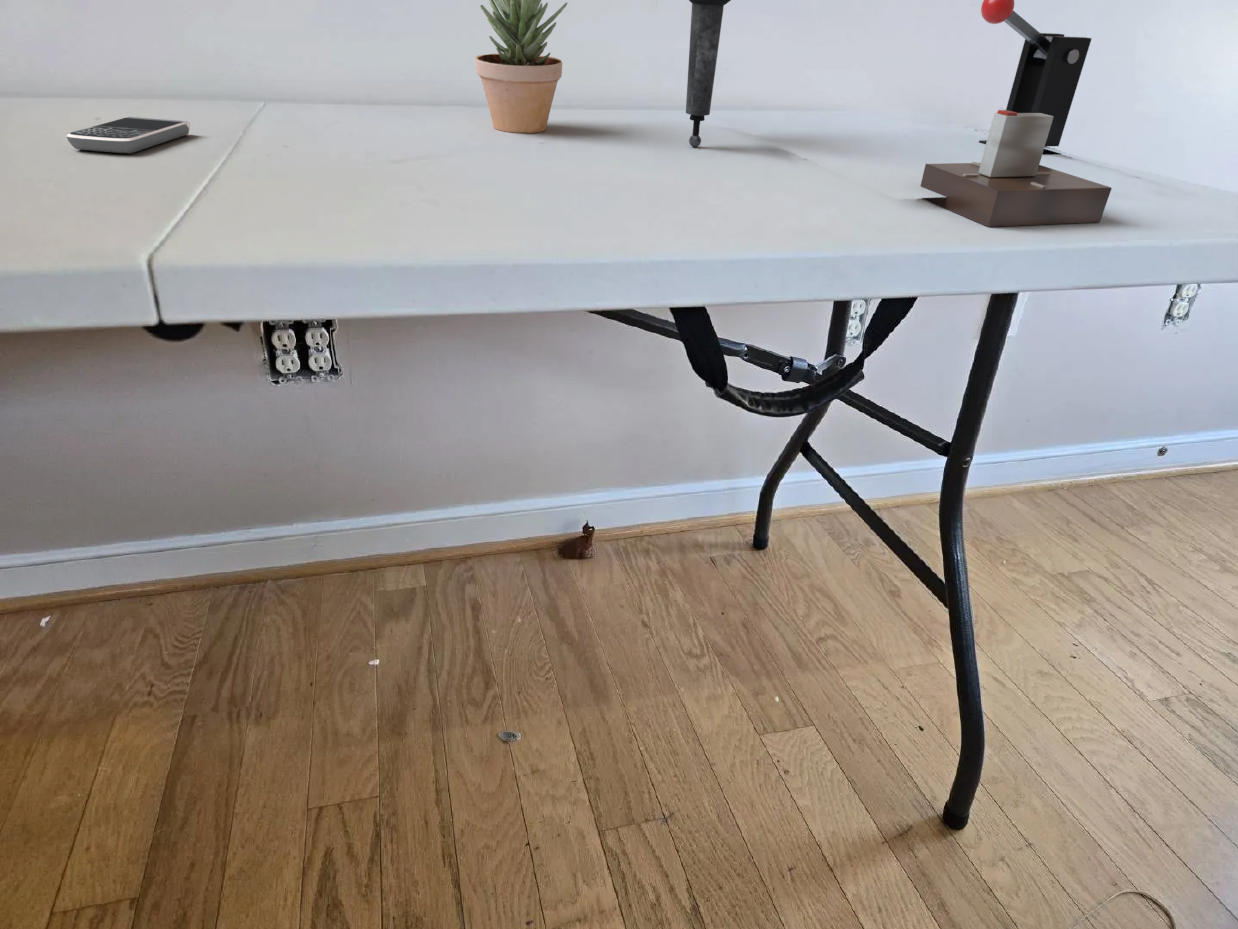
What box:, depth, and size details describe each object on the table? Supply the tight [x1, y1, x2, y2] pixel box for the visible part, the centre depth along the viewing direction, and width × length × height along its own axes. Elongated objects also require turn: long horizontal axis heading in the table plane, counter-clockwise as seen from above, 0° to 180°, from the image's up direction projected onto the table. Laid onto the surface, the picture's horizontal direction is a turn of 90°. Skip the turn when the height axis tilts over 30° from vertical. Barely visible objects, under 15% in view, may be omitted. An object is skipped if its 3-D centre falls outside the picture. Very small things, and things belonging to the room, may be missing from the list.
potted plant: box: [475, 0, 568, 134], centre depth 91 cm, size 10×10×25 cm
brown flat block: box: [920, 161, 1113, 228], centre depth 76 cm, size 12×10×3 cm
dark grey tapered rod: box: [685, 0, 732, 148], centre depth 89 cm, size 7×7×20 cm
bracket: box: [978, 32, 1092, 156], centre depth 96 cm, size 8×7×13 cm
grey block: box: [978, 109, 1053, 177], centre depth 74 cm, size 5×2×5 cm, turn 108°
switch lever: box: [980, 0, 1053, 66], centre depth 92 cm, size 13×3×3 cm, turn 107°
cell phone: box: [66, 116, 191, 155], centre depth 80 cm, size 6×11×1 cm, turn 174°
